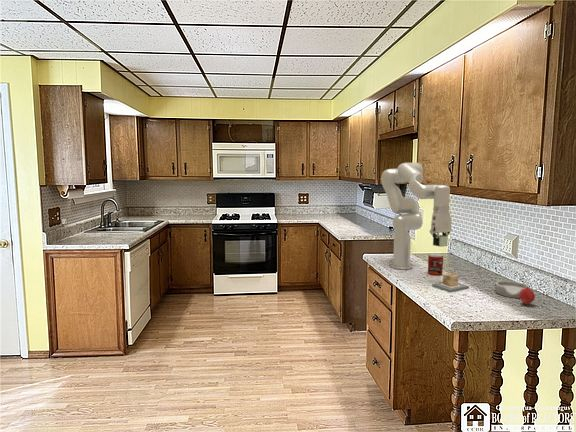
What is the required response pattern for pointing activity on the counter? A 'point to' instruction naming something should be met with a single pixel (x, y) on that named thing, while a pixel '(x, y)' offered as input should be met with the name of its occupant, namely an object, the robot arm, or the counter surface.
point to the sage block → (443, 241)
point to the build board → (450, 289)
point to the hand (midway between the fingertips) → (440, 244)
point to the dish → (509, 288)
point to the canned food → (435, 264)
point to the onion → (527, 295)
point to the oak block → (450, 279)
